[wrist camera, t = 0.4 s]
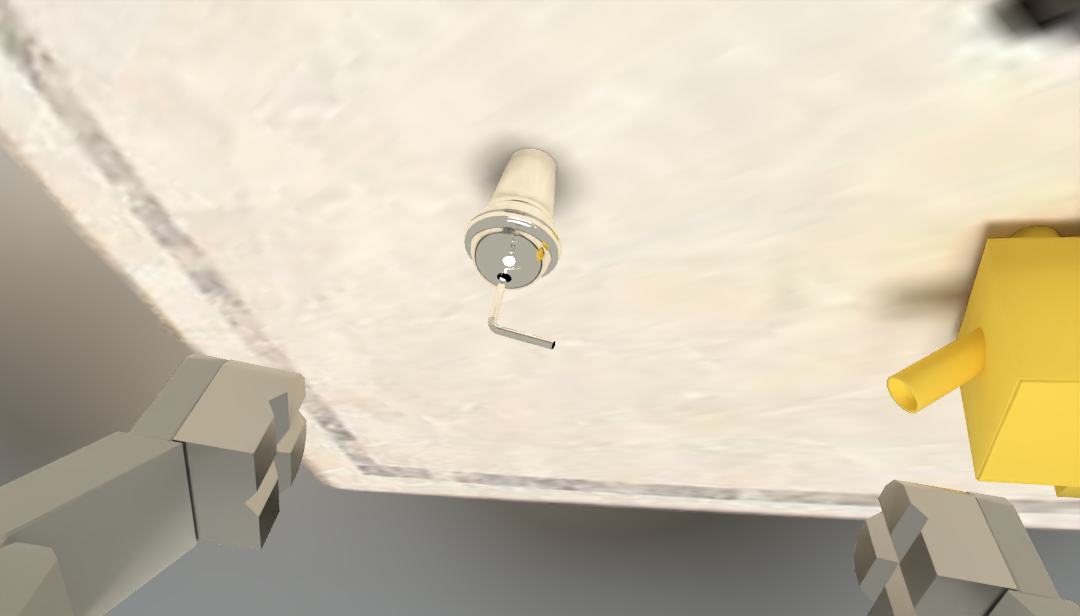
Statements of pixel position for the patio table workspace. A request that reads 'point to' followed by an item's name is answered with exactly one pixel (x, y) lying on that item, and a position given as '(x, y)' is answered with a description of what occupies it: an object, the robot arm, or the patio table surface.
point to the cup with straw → (517, 233)
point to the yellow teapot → (1014, 363)
